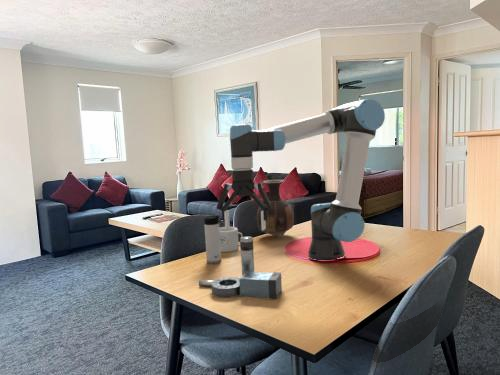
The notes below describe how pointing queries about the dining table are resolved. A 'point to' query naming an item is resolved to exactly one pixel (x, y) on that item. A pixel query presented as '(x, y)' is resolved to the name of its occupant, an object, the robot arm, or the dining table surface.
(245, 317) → the dining table surface
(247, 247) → the grey capped bottle
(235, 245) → the mug
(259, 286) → the grey machined bracket
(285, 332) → the dining table surface
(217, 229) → the travel mug
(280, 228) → the vase
